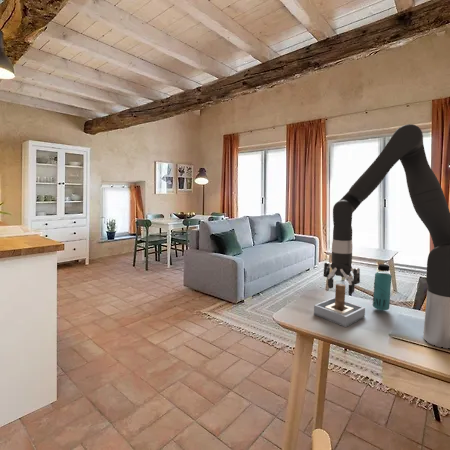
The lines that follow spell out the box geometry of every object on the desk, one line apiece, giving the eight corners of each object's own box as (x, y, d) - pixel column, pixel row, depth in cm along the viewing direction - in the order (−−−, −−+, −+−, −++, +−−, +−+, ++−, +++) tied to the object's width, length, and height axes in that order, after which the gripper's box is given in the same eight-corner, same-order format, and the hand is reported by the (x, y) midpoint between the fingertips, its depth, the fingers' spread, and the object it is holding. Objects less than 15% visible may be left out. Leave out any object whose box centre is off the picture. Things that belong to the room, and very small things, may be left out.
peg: (345, 314, 119) (347, 285, 118) (340, 316, 117) (342, 287, 115) (337, 311, 122) (339, 283, 120) (332, 313, 120) (334, 285, 118)
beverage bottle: (385, 307, 127) (388, 262, 125) (392, 314, 121) (396, 267, 118) (369, 307, 128) (372, 262, 125) (375, 313, 121) (379, 266, 119)
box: (364, 317, 118) (365, 307, 118) (345, 327, 110) (346, 317, 109) (333, 306, 129) (333, 297, 129) (313, 314, 121) (314, 305, 120)
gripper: (364, 252, 113) (362, 293, 114) (331, 247, 124) (329, 284, 126) (354, 255, 108) (352, 297, 110) (320, 249, 119) (319, 288, 121)
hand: (340, 290), depth 118 cm, fingers open, 8 cm apart
